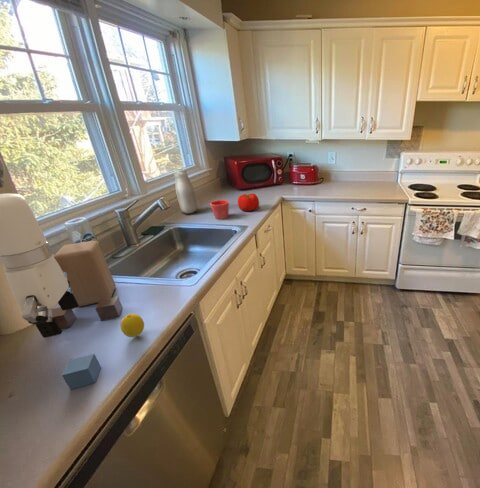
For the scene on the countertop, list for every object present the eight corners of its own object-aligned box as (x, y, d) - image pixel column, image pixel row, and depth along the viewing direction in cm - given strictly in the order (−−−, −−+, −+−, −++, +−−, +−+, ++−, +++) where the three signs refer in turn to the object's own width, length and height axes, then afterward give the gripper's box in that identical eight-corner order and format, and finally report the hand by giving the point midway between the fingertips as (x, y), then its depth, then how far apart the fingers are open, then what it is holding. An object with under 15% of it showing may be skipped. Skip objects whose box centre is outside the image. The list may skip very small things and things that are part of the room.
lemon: (133, 329, 86) (125, 308, 82) (151, 329, 86) (143, 308, 82) (121, 342, 81) (112, 321, 77) (140, 343, 81) (131, 321, 77)
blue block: (70, 389, 67) (61, 375, 65) (78, 373, 72) (70, 359, 69) (95, 382, 69) (87, 368, 67) (101, 367, 73) (94, 353, 71)
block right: (101, 321, 89) (95, 308, 87) (105, 311, 94) (100, 299, 91) (119, 317, 91) (114, 304, 89) (122, 308, 95) (118, 296, 93)
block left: (50, 332, 85) (42, 319, 83) (57, 321, 89) (50, 309, 87) (70, 327, 87) (63, 314, 85) (76, 317, 91) (70, 305, 89)
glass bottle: (189, 209, 189) (179, 167, 177) (201, 211, 186) (192, 168, 174) (178, 214, 181) (167, 170, 169) (190, 216, 178) (180, 171, 165)
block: (76, 308, 95) (50, 256, 87) (85, 292, 103) (62, 244, 95) (111, 300, 99) (90, 250, 90) (117, 286, 107) (98, 238, 98)
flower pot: (225, 213, 182) (223, 198, 178) (234, 217, 175) (231, 202, 171) (210, 217, 176) (207, 202, 171) (218, 221, 169) (215, 206, 164)
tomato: (257, 205, 196) (255, 191, 191) (261, 211, 185) (259, 195, 180) (237, 208, 191) (235, 193, 186) (240, 214, 180) (238, 198, 176)
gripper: (25, 242, 63) (58, 303, 70) (-27, 281, 48) (21, 353, 56) (66, 236, 65) (94, 296, 73) (28, 272, 51) (67, 342, 58)
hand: (62, 321), depth 64 cm, fingers open, 9 cm apart
